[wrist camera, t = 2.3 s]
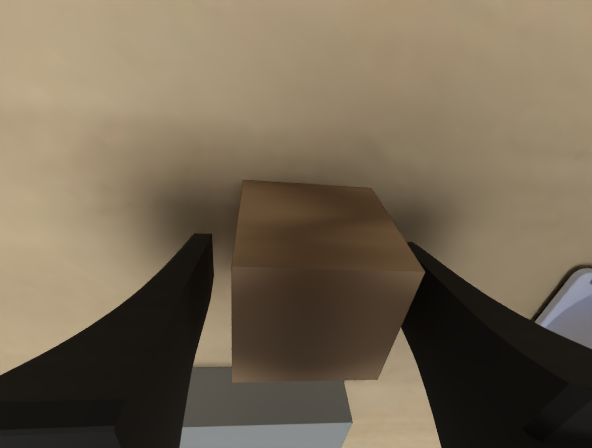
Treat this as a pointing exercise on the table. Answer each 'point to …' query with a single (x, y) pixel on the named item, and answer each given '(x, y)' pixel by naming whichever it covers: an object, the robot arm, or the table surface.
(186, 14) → the table surface
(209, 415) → the grey block
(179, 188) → the table surface
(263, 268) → the walnut cube
